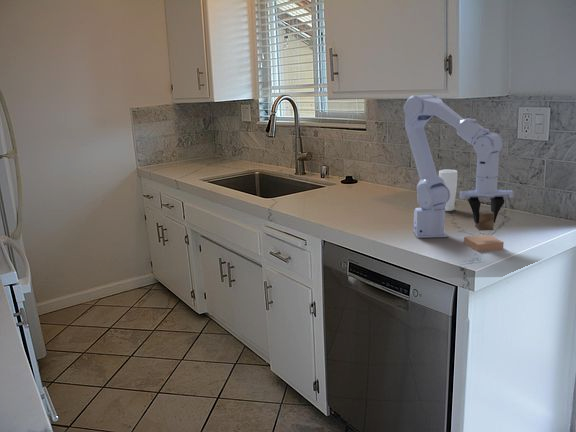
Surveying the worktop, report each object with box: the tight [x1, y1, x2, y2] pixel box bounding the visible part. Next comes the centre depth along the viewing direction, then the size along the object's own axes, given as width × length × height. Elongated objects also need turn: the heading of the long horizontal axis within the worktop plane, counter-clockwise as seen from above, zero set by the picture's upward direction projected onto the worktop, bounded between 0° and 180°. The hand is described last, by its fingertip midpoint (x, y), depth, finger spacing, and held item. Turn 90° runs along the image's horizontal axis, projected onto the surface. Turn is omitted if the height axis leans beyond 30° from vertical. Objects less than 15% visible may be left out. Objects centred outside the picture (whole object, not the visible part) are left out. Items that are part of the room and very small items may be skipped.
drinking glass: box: [438, 168, 458, 212], centre depth 194 cm, size 7×7×15 cm
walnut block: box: [474, 209, 495, 231], centre depth 150 cm, size 4×4×5 cm
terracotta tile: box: [463, 233, 504, 252], centre depth 152 cm, size 8×8×2 cm
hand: (484, 222), depth 150 cm, fingers closed on walnut block, 4 cm apart
